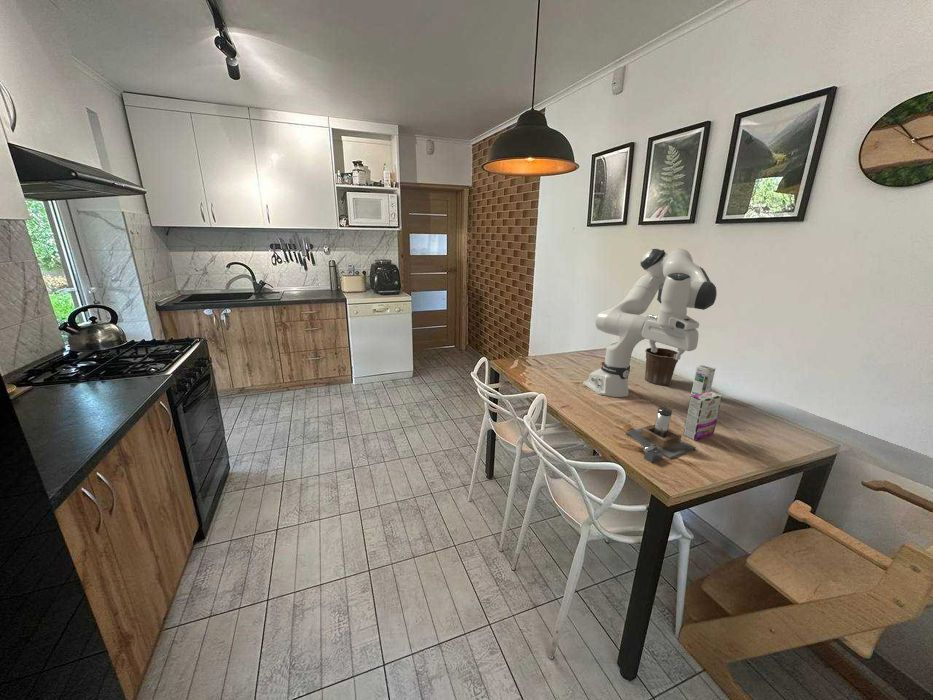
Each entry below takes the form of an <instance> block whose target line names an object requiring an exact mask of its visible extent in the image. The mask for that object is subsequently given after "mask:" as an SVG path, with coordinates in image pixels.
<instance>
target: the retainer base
mask: <svg viewBox="0 0 933 700" xmlns="http://www.w3.org/2000/svg"><path fill="white" fill-rule="evenodd" d="M642 451H643V453H644V456H643V459H644V460H646V461H648V462H649V463H651V464H653V463H655V462H659V461H661V460H662V459H663V451H661V450H660V449H658V448H657V446H656V445H652V446H649V447H646V448H644V447H643V449H642Z"/></svg>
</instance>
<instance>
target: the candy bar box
mask: <svg viewBox="0 0 933 700" xmlns="http://www.w3.org/2000/svg"><path fill="white" fill-rule="evenodd" d="M722 398H723V395H721V394H719V393H715V392H713V391H711V390H710V391H709V392H705V393H701V394H697V395H690V399H689V403H688V408H687V413H686V418H685V422H684V423H685V424H684V429H683V434H682V435H683V436H685V437H687V438H689V439H691V440H692V441H698V440H701V439H705V438H707V437H711V436H713V435H714V434H715V430H716V425H717V420H718V416H719V411H720V407H721V402H722Z"/></svg>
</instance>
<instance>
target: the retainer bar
mask: <svg viewBox="0 0 933 700" xmlns="http://www.w3.org/2000/svg"><path fill="white" fill-rule="evenodd" d="M622 428H623V429H624V431H626V432H628V433H630V434H631V435H632V436H633V437H634V438H635V439H636V440H635V439H634V440H635V441H637V443H639V444H640V445H641V446H642V447H643V449H644V448H646V447H649V446H650V445H651V444H650V443H649V442H648V441H646V440H645V439H644V438H643V437H642V436H641V435H640V434H639V433H638V432H637V431H636V429H635V428H634V427H633V426H632V424H630V423H627V424H624V425H623V426H622Z"/></svg>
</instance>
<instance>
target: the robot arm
mask: <svg viewBox="0 0 933 700" xmlns="http://www.w3.org/2000/svg"><path fill="white" fill-rule="evenodd" d="M640 267H641V268H642V269H643V270H644V271H646V272H647V273H648V274H644V275H642V276H640V278H639V279H637V280H636V282H635V283H634V284H633V286H631V288H630V290H629V291H628V293H627V294H626V296H625V297H624V298H623V299H622V300H621V301H620V302H619V303H617V304H616V305H614V306H612V307H611V308H609V309H606V310H602V311H600V312H599V313H598V314H597V315H596V317H595V321H594V322H595V327H596V329H597V330H599V331H601V332H602V333H605V334H608V335H611V336H612V335H613V336H618V339H619V340H618V341H616V342H614V343H610V344H609V345H608V346H607V347H606V350H605V358H604V361H602V362H600V364H599V365H600V366H601V367H599V368H598V369H596V370H594V371H592V372H591V373H589V375H588V378H587V379H586V380H584V381H583V383H582V384H583V386H586V387H587V388H589V389H590V390H591V391H593V392H594V393H596V394H597V395H599V396H609V397H612V398H613V397H615V398H624V397H627V396H629V395H630V391H629V375H630V371H631V358H632V354H633V351H634V348H635V347H636V346H637V345H638V343H640V342H641V341H643V340H649V346H650V348H651V352H654V353H655V352H657V350H658V348H659V347H657V345H656V343H659V344H662V345H666V346H669V347H672V348H676V349H677V351H676V352H678V353H677V354H674V357H673V359H675V360H678V361H680V360H681V356H682V355H683V354H684V353H685V352H692V351H694V350H696V349H697V347H698V343H699V331H698V328H699V327H700V322H699V321H697V320H695V319H693V318H692V317H690V316H688V315H687V313H688V311H687V310H688V309H687V308H690V309H697V310H706V309H707V310H708V308H711V307H712V306H713V305H714V304H715V302H716V301H717V295H718V293H717V292H718V291H717V286H716V285H715V284H714V283H713V282H712V281H711V280H710V278H709V276H708V273H707V272H706V271H705V269H704V268H702V267H701V266H699V265H697V264H696V263H695V262H694V260H693V257H692V254H691V253H690V252H689V251H688V250H687V249H684V248H676V249H673V250H671V251H670V252H669V253H667V252H666V251H665V250H664V249H659V248H651V249H650V250H648V251H647V252H645V254H644V255H643V256H642V258H641V260H640ZM656 295H657V298H656V300H657V301H658V303H660V306H659V308H658V314H657V315H654V314H650V315H647V316H643V315H642V314H644V313H646V311H647V310H648V308H649V307H650V305H651V304H652V301H653V300H654V298H655V297H656Z"/></svg>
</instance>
